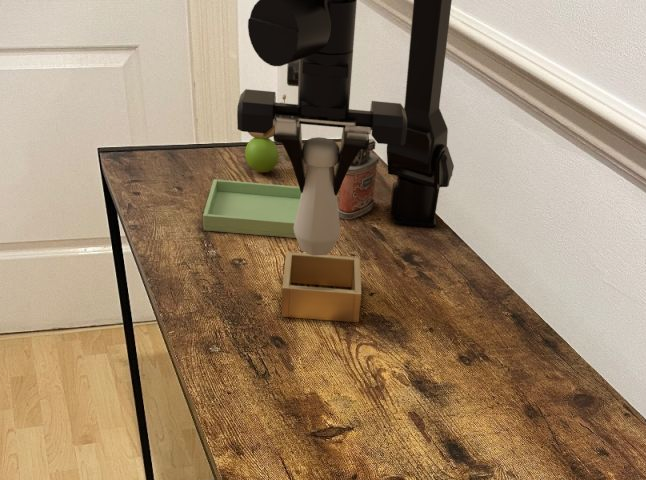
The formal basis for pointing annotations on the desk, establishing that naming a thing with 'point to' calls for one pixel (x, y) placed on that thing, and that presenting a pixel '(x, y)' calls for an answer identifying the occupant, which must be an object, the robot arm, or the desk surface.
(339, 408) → the desk surface
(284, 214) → the tray
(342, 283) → the open brown box
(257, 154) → the snail figurine
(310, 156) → the salt shaker
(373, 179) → the lighter
